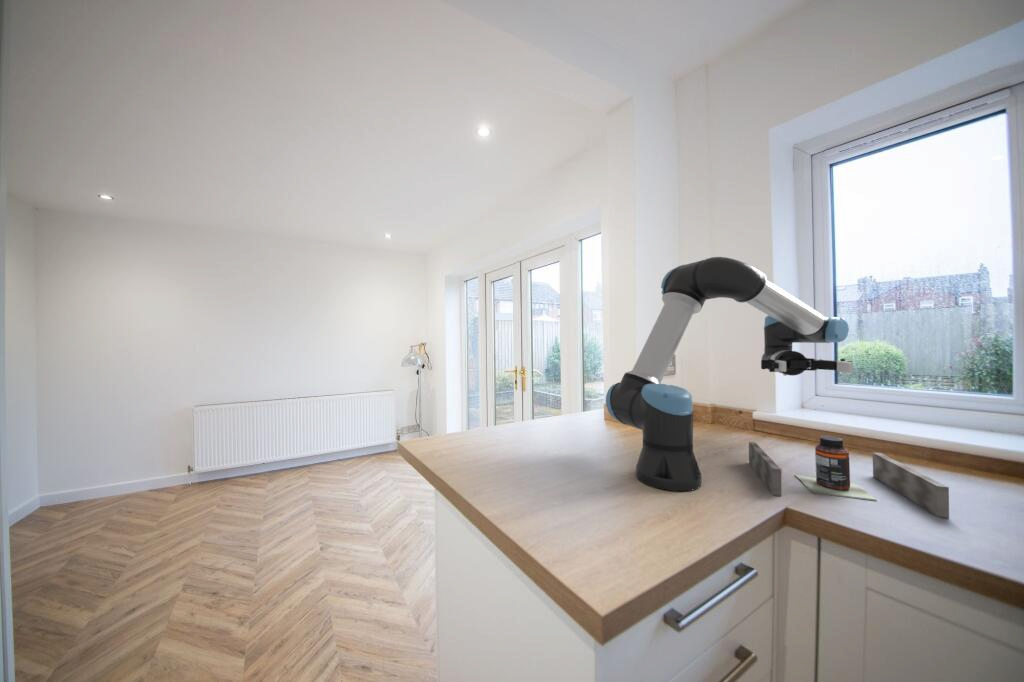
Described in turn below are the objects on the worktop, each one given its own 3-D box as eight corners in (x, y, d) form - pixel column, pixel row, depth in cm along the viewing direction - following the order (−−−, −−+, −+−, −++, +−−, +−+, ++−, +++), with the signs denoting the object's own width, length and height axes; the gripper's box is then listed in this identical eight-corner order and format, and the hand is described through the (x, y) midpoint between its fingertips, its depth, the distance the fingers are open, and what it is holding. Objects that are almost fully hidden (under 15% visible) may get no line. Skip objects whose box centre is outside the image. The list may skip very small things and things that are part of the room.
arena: (749, 463, 98) (748, 441, 98) (881, 477, 88) (881, 453, 88) (772, 494, 78) (772, 468, 78) (949, 518, 67) (948, 487, 67)
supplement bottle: (835, 481, 85) (835, 434, 85) (857, 491, 79) (856, 441, 79) (809, 480, 85) (808, 434, 85) (829, 490, 79) (828, 441, 79)
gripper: (839, 375, 104) (881, 383, 84) (741, 373, 114) (758, 380, 94) (839, 350, 104) (881, 352, 84) (741, 350, 114) (758, 352, 94)
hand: (816, 367), depth 89 cm, fingers open, 13 cm apart
